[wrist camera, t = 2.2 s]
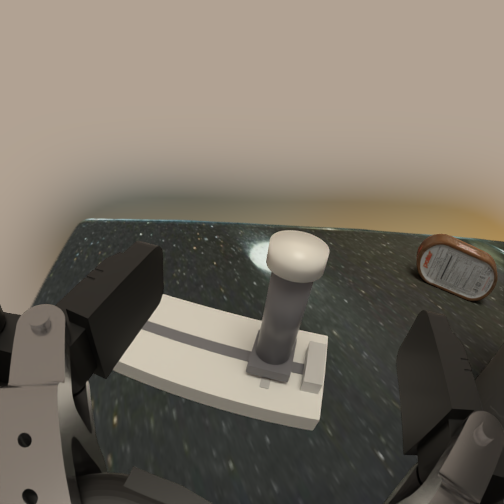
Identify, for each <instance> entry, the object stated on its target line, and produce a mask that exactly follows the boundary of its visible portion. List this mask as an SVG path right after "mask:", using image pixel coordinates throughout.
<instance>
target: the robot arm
mask: <svg viewBox="0 0 504 504" xmlns="http://www.w3.org/2000/svg"><path fill="white" fill-rule="evenodd" d="M163 289H164V285H163V252H162V248H161V247H160V246H156V245H152V244H149V243H145V242H141V241H137V242H135V243H134V244H133V245H132V246H131V247H129V248H128V249H127V250H126V251H125V252H124V253H121V252H119V253H117V254H115V255H113V256H111V257H108V258H106V259H105V260H104V261H103V262H101V263H100V264H99V265H98V266H97V267H96V268H95V270H93V271H91V272H90V273H89V274H88V275H87V278H84V279H83V280H82V281H81V282H79V283H78V284H77V285H76V286H75V287H74V288H73V289H72V290H71V291H70V292H69V293H68V294H67V295H66V296H65V297H64V298H63V299H62V300H61V301H60V302H58V303H57V304H56V305H55V306H54V305H49V304H42V305H37V306H34V307H32V308H30V309H28V310H27V311H25V312H24V313H23V314H22V315H17V314H11V313H5V312H3V311H2V308H1V306H0V504H212V503H211V502H209V501H207V500H205V499H204V498H202V497H200V496H198V495H197V494H195V493H193V492H192V491H190V490H188V489H187V488H185V487H183V486H182V485H179V484H177V483H174V482H171V481H168V480H166V479H163V478H161V477H158V476H156V475H153V474H151V473H148V472H146V471H143V470H141V469H139V468H136V467H134V466H133V468H132V470H131V472H130V474H129V475H128V474H121V473H108V472H107V468H106V464H105V460H104V457H103V454H102V452H101V449H100V447H99V444H98V440H97V436H96V430H95V424H94V418H93V411H92V404H91V396H90V387H89V382H88V380H89V378H90V377H91V376H92V374H93V373H94V374H96V375H98V376H100V377H103V378H105V379H107V377H108V376H109V374H110V373H111V371H112V370H113V369H114V367H115V366H116V364H117V363H118V361H119V360H120V359H121V357H122V356H123V354H124V353H125V351H126V350H127V349H128V347H129V346H130V344H131V343H132V342H133V340H134V339H135V337H136V336H137V335H138V333H139V332H140V330H141V329H142V328H143V326H144V325H145V323H146V322H147V321H148V319H149V318H150V317H151V315H152V314H153V312H154V311H155V310H156V308H157V307H158V305H159V304H160V301H161V299H162V295H163ZM396 366H397V374H398V383H399V393H400V403H401V416H402V430H403V451H404V455H418V462H417V463H416V464H414V465H413V467H412V468H411V469H410V470H409V472H408V473H407V474H406V476H405V477H404V478H403V480H402V481H401V482H400V484H399V485H398V486H397V487H396V489H395V490H394V491H393V492H392V494H391V495H390V496H389V497H388V498H387V500H386V501H385V502H384V503H383V504H504V503H503V499H504V343H503V345H502V346H501V348H500V349H499V350H498V352H497V353H496V354H495V356H494V357H493V358H492V360H491V361H490V362H489V363H488V365H487V366H486V367H485V369H484V370H483V371H482V372H481V374H480V375H479V376H478V377H477V378H476V380H475V379H474V376H473V373H471V370H472V369H471V366H470V363H469V362H468V357H467V354H466V351H465V348H464V346H463V344H462V343H461V341H460V340H459V339H458V337H457V336H456V335H455V333H452V331H451V328H450V325H449V323H448V320H447V317H446V316H445V315H443V314H439V313H434V312H430V311H425V310H423V311H421V312H420V313H419V315H418V316H417V318H416V320H415V322H414V324H413V325H412V327H411V329H410V331H409V332H408V334H407V336H406V338H405V339H404V341H403V343H402V344H401V346H400V348H399V351H398V355H397V361H396Z"/></svg>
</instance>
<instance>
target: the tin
mask: <svg viewBox="0 0 504 504" xmlns="http://www.w3.org/2000/svg"><path fill="white" fill-rule="evenodd" d="M417 269H418V272H419V274H420V276H421V277H422V279H423V280H424V281H425V282H427V283H428V284H430V285H433V286H435V287H437V288H440V289H442V290H445V291H447V292H449V293H452V294H454V295H456V296H458V297H461V298H463V299H465V300H469V301H478V300H481V299H483V298H485V297H487V296H488V295H489V294H490V293H491V292H492V291H493V289H494V287H495V285H496V283H497V270H496V264H495V261H494V259H493V258H492V257H491V256H490V255H489V254H488V253H486V252H484V251H482V250H480V249H478V248H476V247H474V246H471V245H469V244H467V243H465V242H463V241H461V240H458V239H456V238H454V237H452V236H449V235H446V234H436V235H432V236H430V237H428V238H427V239H425V240H424V241H423V242H422V243H421V245H420V246H419V249H418V251H417Z"/></svg>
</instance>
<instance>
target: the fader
mask: <svg viewBox="0 0 504 504" xmlns="http://www.w3.org/2000/svg"><path fill="white" fill-rule="evenodd" d="M328 256H329V248H328V246H327V244H326V243H325V242H324V241H322V240H321V239H319V238H318V237H316V236H314V235H311V234H309V233H305V232H301V231H294V230H286V231H280V232H277V233H275V234H273V235H272V236H271V238H270V243H269V248H268V254H267V260H266V263H267V266H268V268H269V269H270V270H271V271H272V273H271V278H270V283H269V288H268V293H267V298H266V303H265V308H264V313H263V318H262V323H261V328H260V330H258V333H257V336H256V339H255V342H254V346H253V349H252V352H251V355H250V358H249V361H248V364H247V368H246V373H250V374H254V375H258V376H262V377H266V378H270V379H275V380H279V381H283V382H288V380H289V377H290V374H291V369H292V363H293V358H294V353H295V348H296V342H297V339H296V337H297V334H298V331H299V328H300V324H301V321H302V318H303V315H304V311H305V308H306V305H307V302H308V298H309V295H310V291H311V288H312V285H313V281H316V280H318V279H319V278H321V277H322V275H323V273H324V269H325V266H326V263H327V259H328Z"/></svg>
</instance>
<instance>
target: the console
mask: <svg viewBox="0 0 504 504" xmlns="http://www.w3.org/2000/svg"><path fill="white" fill-rule="evenodd" d="M261 323H262V321H259V320H255V319H251V318H247V317H244V316H240V315H236V314H232V313H228V312H224V311H221V310H217V309H213V308H210V307H206V306H202V305H199V304H195V303H192V302H188V301H185V300H181V299H178V298H174V297H171V296H167V295H164V294H163V295H162V299H161V301H160V304H159V305H158V307H157V308H156V310H155V311H154V312H153V314H152V315H151V317H150V318H149V319H148V321H147V322H146V323H145V325H144V326H143V328H142V329H141V330H140V332H139V333H138V335H137V336H136V337H135V339H134V340H133V342H132V343H131V344H130V346H129V347H128V349H127V350H126V351H125V353H124V354H123V356H122V357H121V359H120V360H119V361H118V363H117V364H116V366H115V367H114V369H113V371H116V372H118V373H120V374H123V375H125V376H127V377H130V378H132V379H135V380H137V381H140V382H142V383H145V384H147V385H150V386H153V387H155V388H158V389H161V390H163V391H166V392H169V393H172V394H174V395H177V396H180V397H183V398H186V399H189V400H192V401H195V402H198V403H202V404H205V405H208V406H211V407H215V408H218V409H221V410H225V411H228V412H232V413H236V414H239V415H243V416H247V417H251V418H255V419H259V420H263V421H267V422H272V423H276V424H281V425H285V426H290V427H295V428H300V429H306V430H311V431H313V429H314V428H315V426H316V425H317V423H318V422H319V420H320V412H321V403H322V395H323V385H324V375H325V365H326V354H327V341H328V336H324V335H320V334H315V333H311V332H306V331H302V330H299V331H298V334H297V337H296V339H297V342H296V348H295V353H294V358H293V363H292V369H291V374H290V377H289V380H288V382H283V381H279V380H275V379H270V378H266V377H262V376H258V375H254V374H250V373H246V368H247V364H248V361H249V358H250V355H251V352H252V349H253V346H254V342H255V339H256V336H257V333H258V330H260V328H261Z"/></svg>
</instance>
